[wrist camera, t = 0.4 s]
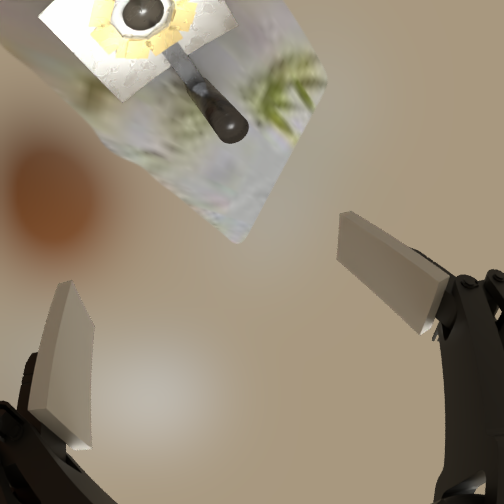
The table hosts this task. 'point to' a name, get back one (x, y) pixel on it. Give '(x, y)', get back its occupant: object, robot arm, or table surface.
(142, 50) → the tan ring with handle
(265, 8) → the table surface
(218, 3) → the flange plate
